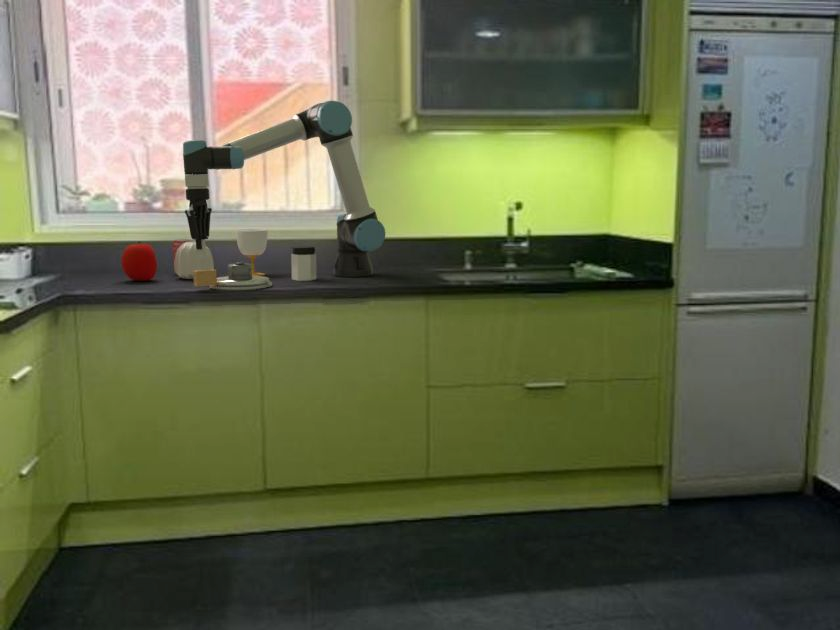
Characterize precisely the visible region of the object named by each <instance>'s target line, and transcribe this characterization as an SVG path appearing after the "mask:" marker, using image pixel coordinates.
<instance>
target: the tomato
mask: <svg viewBox="0 0 840 630" xmlns="http://www.w3.org/2000/svg"><path fill="white" fill-rule="evenodd" d="M137 242H138V243H136V242H135V243H132V244H129V245H128V246H127V247H125V249H124V251H123V252H122V254H121V260H120V262H121V269H122V270H123V272H124V274H125V275H126V276H127V278H129V279H130V280H132V281H136V282H137V281H138V282H139V281H140V282H141V281H142V282H144V281H145V282H148V281H151V280H152V279H154V278H155V276H156V273H157V268H158V263H157V262H158V261H157V257H156V256H157V255H156V254H155V251H154V249H153V247H152V246H151V245H150V243H149V244H148V243H145V242H144V243H143V242H142V243H141V241H137Z"/></svg>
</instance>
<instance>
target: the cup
mask: <svg viewBox="0 0 840 630" xmlns="http://www.w3.org/2000/svg"><path fill="white" fill-rule="evenodd" d="M235 236H236V243H237V247H238V250H239V252H240V253H241V254H242V255H243V256H244V257H247V258H249V259H250V260H251V261H250V264H252V276H263V277H264V276H265V275H266V273H263V272H256V269H255V268H256V267H255V259H256V258H257V257H260V256H262V255H263V254H264V252H265V251H266V249H267V245H268V229H267V228H266V229H265V228H243V229H241V228H240V229H236V230H235Z"/></svg>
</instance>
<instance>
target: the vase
mask: <svg viewBox="0 0 840 630" xmlns="http://www.w3.org/2000/svg"><path fill="white" fill-rule="evenodd" d="M174 268H175V272H176V273H177V274H176V273H175V272H174V273H175V274H176V275H177V276H178V277H179V278H181V279H183V280H184V279H185V280H194V276H193V271H197V270H209V269H214V268H215V267H214V258H213V254H212V251H211V248H210V247H208V246H207V245H206V259H197V252H196V240H194V241H191V242H185V243H184V244H182V245H181V246H180V247H179V248H178V249H177V252H176V255H175V263H174V262H173V269H174ZM214 270H215V269H214Z"/></svg>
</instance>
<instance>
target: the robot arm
mask: <svg viewBox="0 0 840 630" xmlns="http://www.w3.org/2000/svg"><path fill="white" fill-rule="evenodd" d="M352 123H353V117H352V113H351V111H350V109H349V108H348V106H346V105H345V104H344V103H343V102H341V101H336V100H327V101H324V102H321V103H320V102H319V103H316V104H314V105H313V106H311V107H309V108H307V109H305V110H303V111H301V112H299V113H296V114H294V115H293V118H291V119H289V120H286V121H283V122H280V123H278V124H274V125H272V126H268V127H267V128H264V129H262V130H259V131H256V132H253V133H250V134H248V135H245V136H242V137H240V138H237V139H234V140H232V141H229V142H226V143H223V144H221V145H218V146H210V145H207V142H206V140H203V139H200V140H199V139H195V140H193V139H192V140H191V139H190V140H185V141H183V143H182V150H183V151H182V157H183V159H182V160H183V170H184V172H183V173H184V181H185V182H184V185H185V187H186V189H185V199H186V200H187V201H189V205H188V207H189V208H188V209H185V210H184V213H185V216H186V219H187V223H188V227H189V233H190V237H191V239H192V240H194V241H196V252H197V259H206V246H207V245H206V244H207V243H206V240H208V239H209V237H210V230H211V229H210V227H211V214H212V207H208V202H207V200H209V199H210V189H209V188H208V187H209V186H210V183H209V182H210V181H209V170H240V169H242V168H243V167H244V166H245V165H244V164H245V161H246V160H249V159H251V158H254V157H257V156H260V155H261V154H265V153H267V152H269V151H272V150H275V149H278V148H281V147H283V146H286V145H288V144H289V145H290V144H291V143H294V142H297V141H299V140H302V141H307V140H309V139H315V138H318V139H319V142H320V144H321V146H323V147H324V148H326V150H327V153H328V157H329V160H330V162H331V167H332V170H333V173H334V177H335V179H336V183H337V186H338V189H339V192H340V196H341V199H342V203H343V205H344V209H345V212H346V213H343V214H342V213H341V214H339V215H337V218H336V240H337V241H336V242H337V244H336V246H337V255H336V259H335V261H334V265H333V268H332V269H333V270H332V275H333V276H335V277H344V278H346V277H347V278H355V277H356V278H358V277H359V278H360V277H369V276H372V275H374V269H373V265H372V263H371V260H370V256H369V252H372V251H375V250H378V249H379V248H380V247H381V246H382V245H383V243H384V241H385V239H386V229H385V227H384V225H383V223H382V222H381V221H380V220H378V216H377V212H376V209H375V208H372V207H371V206H370V204H369V200H368V197H367V193H366V190H365V187H364V183H363V181H362V177H361V173H360V170H359V167H358V163H357V160H356V156H355V153H354V150H353V146H352V143H351V141H352V139H353V136H354V134H353V131H352V127H351V126H352Z"/></svg>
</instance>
